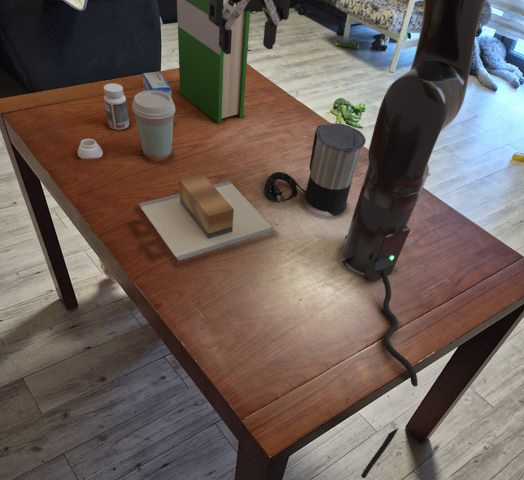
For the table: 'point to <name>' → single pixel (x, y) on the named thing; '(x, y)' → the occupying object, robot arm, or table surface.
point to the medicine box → (156, 83)
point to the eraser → (206, 206)
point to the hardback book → (211, 61)
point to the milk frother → (326, 169)
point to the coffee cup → (154, 122)
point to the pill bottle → (116, 106)
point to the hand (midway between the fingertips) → (247, 50)
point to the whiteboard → (189, 233)
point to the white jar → (89, 149)
